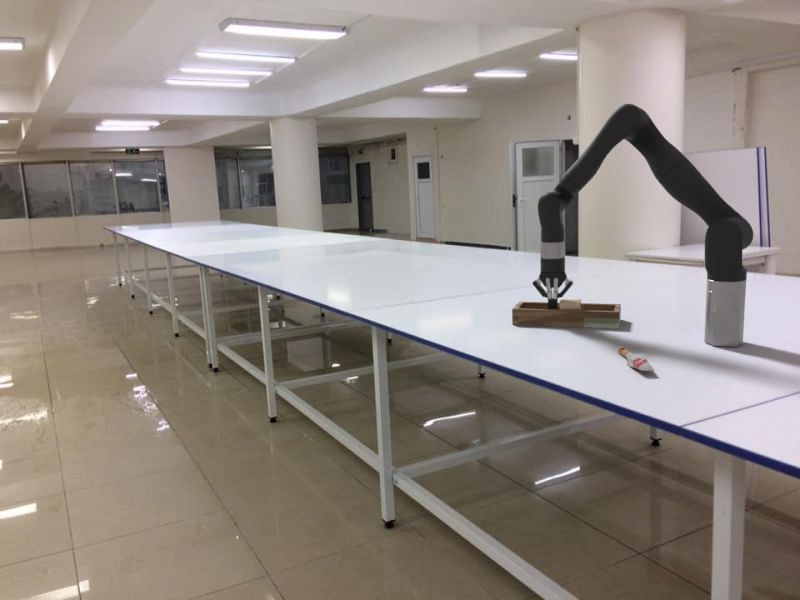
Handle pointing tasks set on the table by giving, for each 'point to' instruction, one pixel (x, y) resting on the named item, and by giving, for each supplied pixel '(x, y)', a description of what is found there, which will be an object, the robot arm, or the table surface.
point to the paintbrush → (635, 360)
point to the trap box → (567, 315)
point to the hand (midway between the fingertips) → (552, 310)
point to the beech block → (570, 304)
